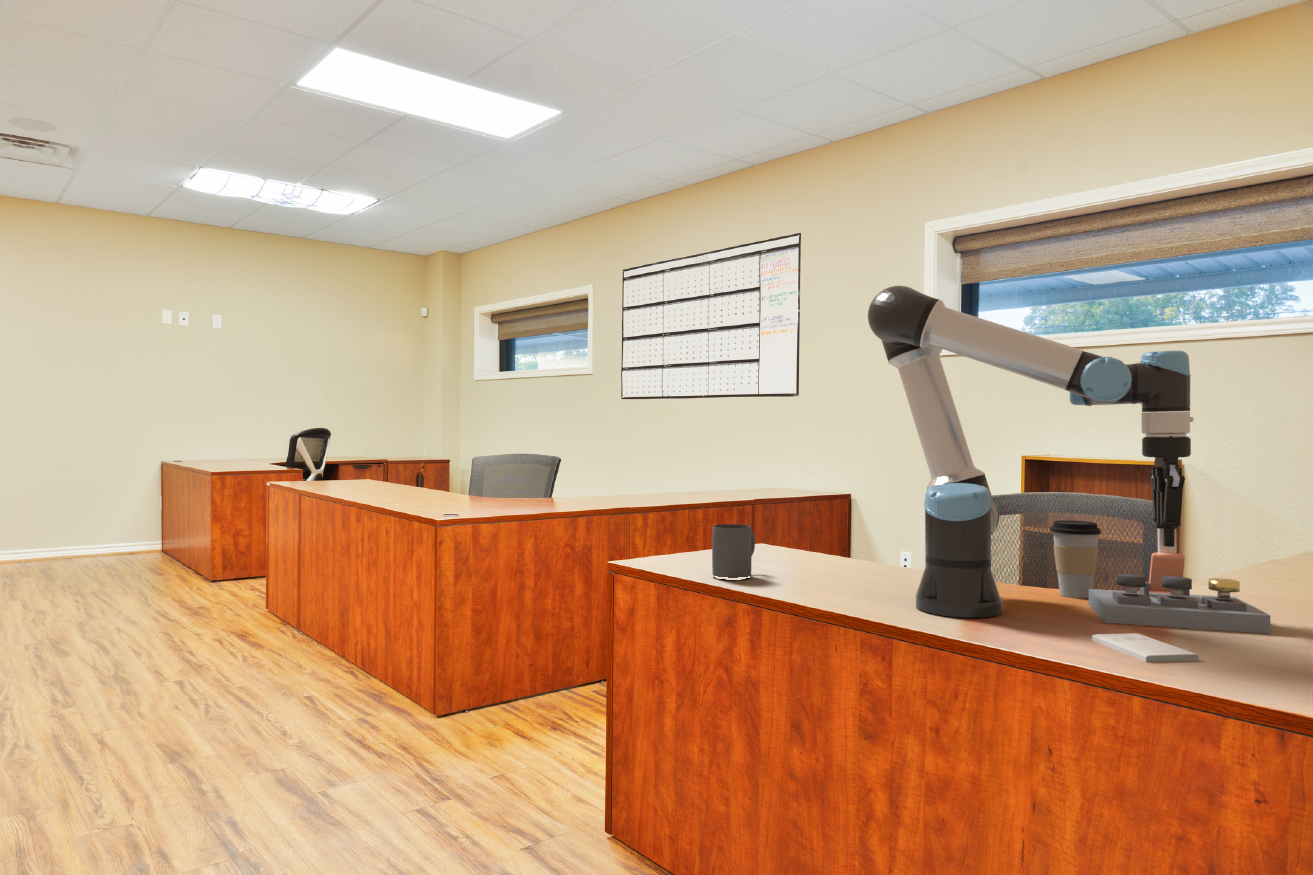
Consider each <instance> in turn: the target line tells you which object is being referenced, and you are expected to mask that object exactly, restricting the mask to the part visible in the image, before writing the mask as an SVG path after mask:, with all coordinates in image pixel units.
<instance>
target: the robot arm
mask: <svg viewBox="0 0 1313 875" xmlns="http://www.w3.org/2000/svg"><path fill="white" fill-rule="evenodd" d="M867 320H868V321H867V322H868V325H869V328H870V329H871V332H873V334H874V335H875V336H876V337H877V338H878V339H880V340H881V343H882V346H883V350H884V352H885V356H886V359H887V361H888V363H887V364H889V365H890V366H892V367H895V368H896V369H897V370H898V373H899V376H900V379H901V382H902V386H903V389H904V392H905V396H906V400H907V402H908V405H909V408H910V412H911V415H912V418H913V422H914V425H915V429H916V432H917V434H918V438H919V441H920V444H921V449H922V451H923V455H924V458H925V460H926V465H927V468H928V471H929V474H930V477H931V478H930V480H929V482H928V483H927V486H926V492H925V497H924V498H925V499H924V502H923V507H924V514H925V516H924V520H925V521H924V526H925V527H924V528H925V530H924V532H925V533H924V534H925V535H924V538H925V539H924V541H925V542H924V543H925V545H924V547H925V548H924V551H925V555H924V556H925V557H924V559H925V560H924V561H925V566H924V571H923V573H922V576H921V579H920V583H919V585H918V587H917V591H916V595H915V608H916V609H917V610H920V611H921V612H925V613H928V614H933V615H938V616H943V617H944V616H945V617H952V618H972V619H974V618H978V619H979V618H990V617H996V616H998V615H1001V614H1002V611H1003V609H1002V604H1003V603H1002V602H1003V601H1002V598H1001V596H1000V592H999V590H998V587H997V584H996V580H995V577H994V574H993V573H992V536H993V535H994V533H995V531H996V529H997V528H998V526H999V522H1000V509H999V508H1000V507H999V505H998V503H997V501H996V500H995V498H994V497H993V495H992V492H991V490H990V486H989V483H988V480H987V477H986V473H985V472H984V471H982V470H981V469H979V468H976V466H974V462H973V459H972V455H971V452H970V449H969V446H968V444H967V440H966V439H967V438H966V437H965V433H964V430H963V428H962V424H961V421H960V417H959V414H958V410H957V408H956V405H955V402H954V398H953V396H952V392H951V389H950V386H949V382H948V379H947V376H946V373H945V369H944V367H943V364H942V361H941V358H940V355H941V353H942V351H943V350H944V351H947V352H950V353H953V354H955V355H959V356H962V357H965V358H968V359H971V360H973V361H974V360H975V361H976V362H980V363H983V364H986V365H988V366H989V365H990V366H992V367H994V368H998V369H1002V370H1004V371H1006V372H1009V373H1013V374H1017V375H1020V376H1022V377H1025V378H1027V379H1031V380H1034V381H1037V382H1041V383H1043V384H1046V385H1048V386H1052V387H1055V388H1058V389H1061V390H1064V391H1067V392H1069V402H1070V404H1072V405H1073V406H1088V407H1091V406H1107V405H1128V404H1130V405H1136V404H1137V405H1138V404H1141V417H1140V418H1141V433H1142V434H1143V435H1144V434H1145V436H1144V437H1142V438H1141V454H1142V456H1143V457H1145V458H1154V463H1153V466H1151V468H1150V469H1151V471H1149V473H1148V475H1149V478H1150V485H1151V496H1152V497H1151V498H1152V510H1153V522H1154V523H1156V524H1155V529H1157V553H1177V552H1178V551H1177V530H1178V527H1181V525H1182V524H1181V523H1182V522H1181V519H1182V506H1183V504H1182V503H1183V493H1184V492H1183V491H1184V486H1185V480H1186V478H1185V475H1182V474H1183V471H1182V470H1183V469H1182V467H1180V462H1179V458H1188V457H1190V456H1191V455H1192V449H1191V448H1192V447H1191V446H1192V445H1191V442H1192V441H1191V440H1192V439H1191V438H1190V436H1187V434H1190V433H1191V423H1192V422H1194V417H1193V416H1191V378H1192V377H1191V376H1192V375H1191V370H1190V368H1191V367H1190V357H1189V354H1188V353H1187V352H1186V351H1183V350H1160V351H1147V352H1144V353H1142V354H1141V357H1140V361H1139V362H1137V363H1130V364H1128V363H1127V364H1126V363H1124V362H1123V361H1122V360H1120V359H1117V358H1115V357H1112V356H1101V355H1098V354H1095V353H1092V352H1089V351H1085V350H1083V349H1079V348H1077V347H1073V346H1069V345H1068V344H1064V343H1060V342H1057V341H1054V340H1051V339H1047V338H1045V337H1041V336H1038V335H1034V334H1033V333H1032V334H1031V333H1028V332H1025V331H1022V330H1019V329H1015V328H1013V327H1009V326H1006V325H1003V324H1000V323H997V322H993V321H991V320H987V319H985V318H981V317H978V316H974V315H971V314H968V313H965V312H962V311H958V310H956V309H953V308H952V309H951V308H948V307H947V306H946V305H945V303H944V301H943V300H941V299H939V298H936V297H932V296H930V295H927V294H924V293H922V292H921V291H918V290H916V289H913V288H912V287H910V286H906V285H905V286H904V285H894V286H893V285H892V286H889V287H886V288H884V289H883V290H881V291H879V292H878V293H877V294H876V295H875V296H874V298H873V299H872V300H871V303H870V304H869V307H868V310H867ZM1177 554H1178V553H1177Z"/></svg>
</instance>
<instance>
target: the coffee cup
mask: <svg viewBox="0 0 1313 875" xmlns="http://www.w3.org/2000/svg"><path fill="white" fill-rule="evenodd" d="M1052 522H1053V523H1052V526H1050V527H1049V532H1051V533H1052V534H1053V543H1054V544H1053V552H1054V561H1055V568H1056V572H1057V579H1058V580H1057V582H1058V590H1059V595H1060V596H1063V597H1067V598H1072V599H1073V598H1074V599H1089V589H1094V588H1093V587H1094V580H1095V574H1096V569H1097V559H1098V550H1099V546H1098V543H1099V535H1101V534H1102V532H1101V528H1099V527H1098V523H1097V522H1094V521H1086V520H1073V519H1072V520H1070V519H1068V520H1066V519H1061V520H1053V521H1052Z"/></svg>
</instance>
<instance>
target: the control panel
mask: <svg viewBox="0 0 1313 875" xmlns="http://www.w3.org/2000/svg"><path fill="white" fill-rule="evenodd" d="M1190 590H1191V589H1190ZM1190 590H1183V596H1175V595H1171V592H1155V591H1149V581H1146V587H1139V591H1137V593H1127V592H1125V590H1114V589H1099V588H1098V589H1095V588H1093V589H1089V598H1088V605H1089V607H1090V608H1092V610H1093V611H1094V612H1095V613H1096V614H1097V615H1098V617H1099V618H1101V619H1102V621H1103V622H1104V623H1107V624H1118V625H1119V624H1121V625H1134V626H1151V627H1165V628H1177V629H1178V628H1181V629H1194V630H1195V629H1197V630H1209V631H1211V630H1212V631H1227V632H1237V633H1238V632H1239V633H1256V634H1268V635H1269V634H1271V615H1270V614H1269V613H1267V612H1264V611H1263V610H1261V609H1259V608H1258V607H1255V606H1253V605H1252V604H1249V603H1248V602H1246V601H1244V600H1243V599H1240V598H1239V597H1236V596H1230V598H1219V597H1218V595H1208V594H1192V593H1191V591H1190Z"/></svg>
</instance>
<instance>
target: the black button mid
mask: <svg viewBox="0 0 1313 875" xmlns="http://www.w3.org/2000/svg"><path fill="white" fill-rule="evenodd" d="M1162 587H1164V588H1169V589H1171V592H1170V593H1171V595H1175V596H1183V590H1192V589H1193V579H1192V578H1190V577H1185V576H1183V577H1177V576H1163V577H1162Z"/></svg>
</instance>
